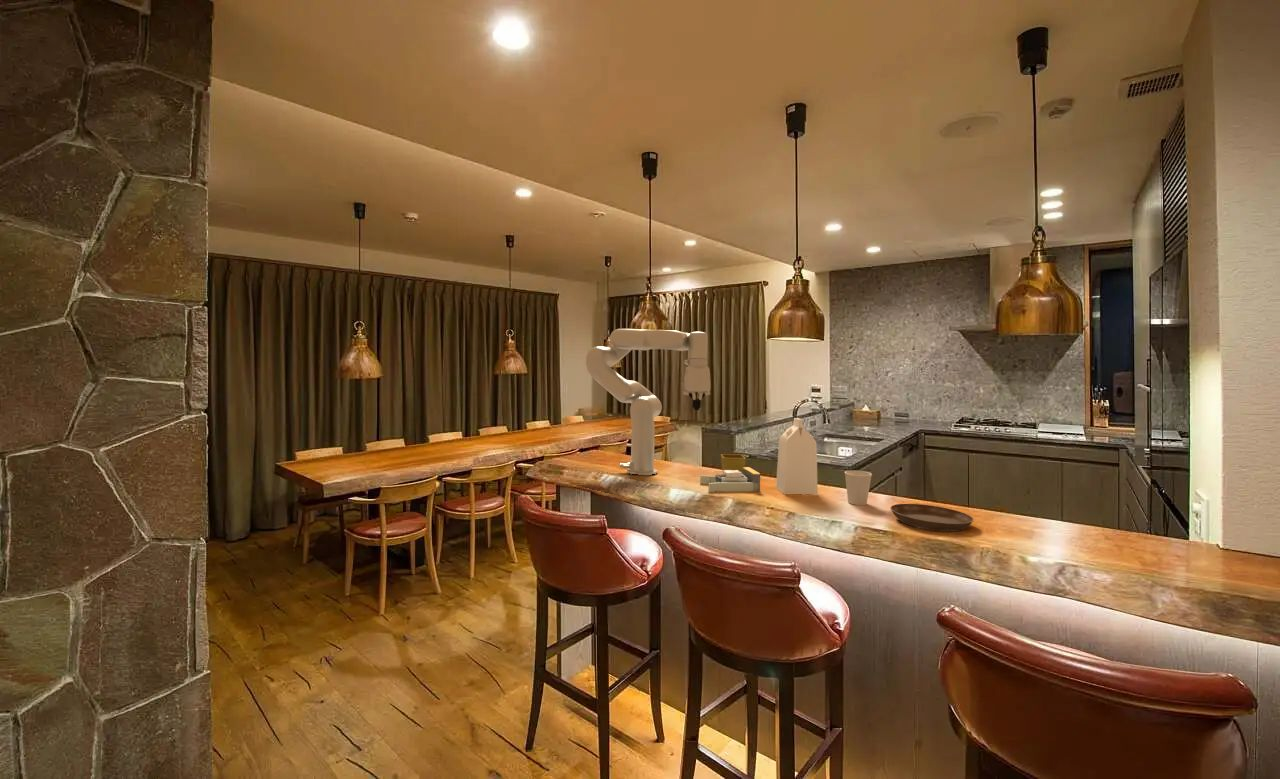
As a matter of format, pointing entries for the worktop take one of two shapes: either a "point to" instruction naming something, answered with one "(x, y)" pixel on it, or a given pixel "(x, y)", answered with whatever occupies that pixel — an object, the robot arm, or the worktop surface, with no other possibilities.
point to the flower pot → (733, 462)
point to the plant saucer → (931, 517)
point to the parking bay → (750, 485)
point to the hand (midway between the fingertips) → (696, 409)
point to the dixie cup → (857, 486)
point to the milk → (797, 461)
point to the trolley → (730, 476)
